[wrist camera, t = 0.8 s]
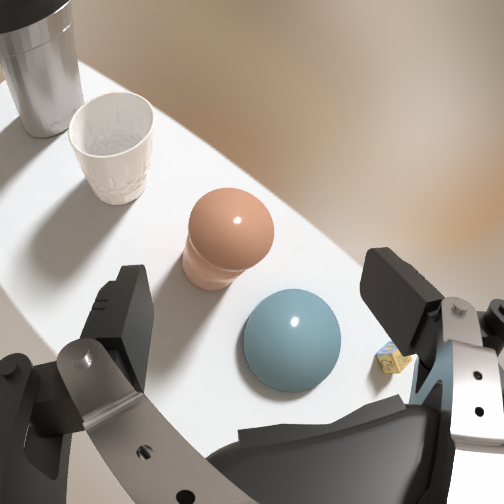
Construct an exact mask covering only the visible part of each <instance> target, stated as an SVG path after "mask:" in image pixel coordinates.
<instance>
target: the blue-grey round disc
mask: <svg viewBox="0 0 504 504" xmlns="http://www.w3.org/2000/svg"><path fill="white" fill-rule="evenodd" d="M340 347H341V334H340V328H339V324H338V321H337V319H336V317H335V315H334V313H333V311H332V310H331V308H330V307H329V306H328V305H327V303H326V302H324V301H323V300H322V299H321V298H319V297H318V296H317V295H315V294H313V293H311V292H308V291H305V290H300V289H287V290H283V291H279V292H277V293H274V294H272V295H270V296H268V297H267V298H265V299H264V300H263V301H261V302H260V303H259V304H258V305H257V306H256V308H255V309H254V310H253V312H252V313H251V315H250V317H249V319H248V321H247V324H246V327H245V332H244V352H245V356H246V359H247V362H248V364H249V366H250V368H251V370H252V371H253V373H254V374H255V375H256V376H257V377H258V378H259V379H260V380H261V381H262V382H263V383H265V384H266V385H268V386H270V387H271V388H274V389H277V390H279V391H284V392H301V391H306V390H308V389H311V388H313V387H315V386H317V385H318V384H319V383H321V382H322V381H323V380H324V379H325V378H326V377H327V376H328V375H329V374H330V373H331V371H332V369H333V368H334V366H335V364H336V362H337V359H338V356H339V353H340Z"/></svg>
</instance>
